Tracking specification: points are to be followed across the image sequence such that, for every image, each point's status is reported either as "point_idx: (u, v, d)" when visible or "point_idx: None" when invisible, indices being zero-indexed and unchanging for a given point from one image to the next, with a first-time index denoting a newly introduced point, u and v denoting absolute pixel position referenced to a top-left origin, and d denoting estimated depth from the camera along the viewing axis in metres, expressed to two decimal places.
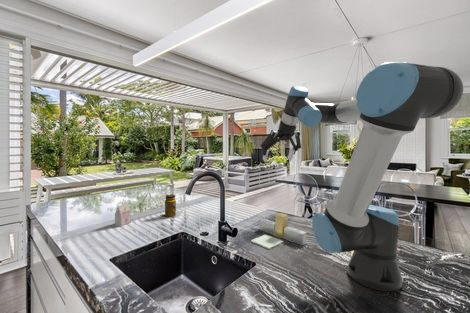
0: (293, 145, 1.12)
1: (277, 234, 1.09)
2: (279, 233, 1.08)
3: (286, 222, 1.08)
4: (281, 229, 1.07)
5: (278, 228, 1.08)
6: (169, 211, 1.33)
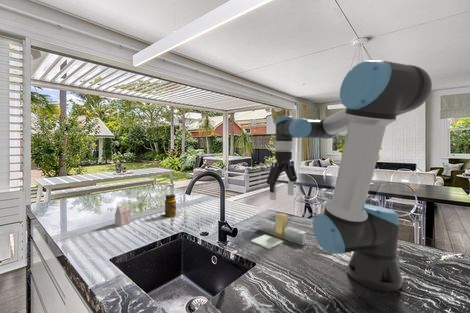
0: (291, 176, 1.11)
1: (277, 234, 1.09)
2: (279, 233, 1.08)
3: (286, 222, 1.08)
4: (281, 229, 1.07)
5: (278, 228, 1.08)
6: (169, 211, 1.33)
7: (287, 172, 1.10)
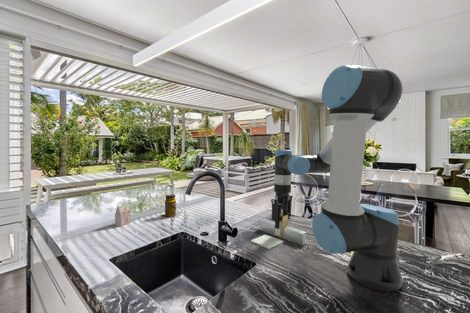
0: (286, 211, 1.10)
1: None
2: None
3: (286, 222, 1.08)
4: (281, 229, 1.07)
5: None
6: (169, 211, 1.33)
7: (283, 206, 1.10)
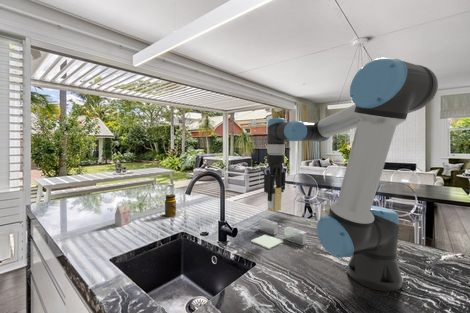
0: (280, 184, 1.05)
1: None
2: None
3: (279, 195, 1.04)
4: (274, 202, 1.02)
5: None
6: (169, 211, 1.33)
7: (277, 178, 1.05)
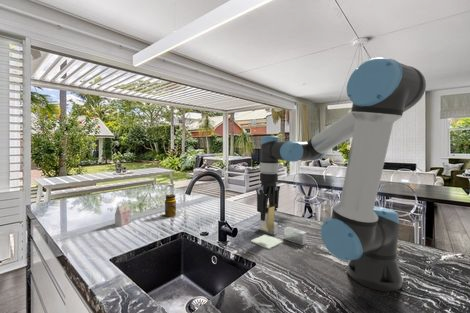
0: (273, 203, 1.02)
1: None
2: None
3: (272, 214, 1.01)
4: (267, 221, 1.00)
5: None
6: (169, 211, 1.33)
7: (270, 197, 1.03)
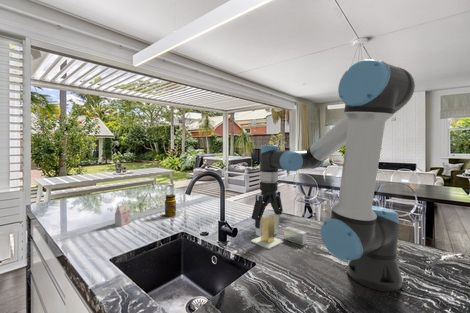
0: (277, 208, 1.04)
1: (263, 239, 1.02)
2: (265, 238, 1.01)
3: (272, 226, 1.01)
4: (267, 233, 1.00)
5: (264, 232, 1.01)
6: (169, 211, 1.33)
7: (272, 204, 1.04)
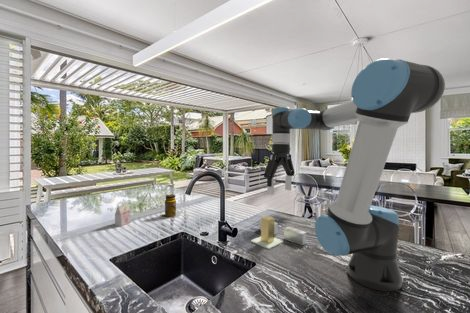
0: (289, 170, 1.07)
1: (263, 239, 1.02)
2: (265, 238, 1.01)
3: (272, 226, 1.01)
4: (267, 233, 1.00)
5: (264, 232, 1.01)
6: (169, 211, 1.33)
7: (284, 166, 1.07)
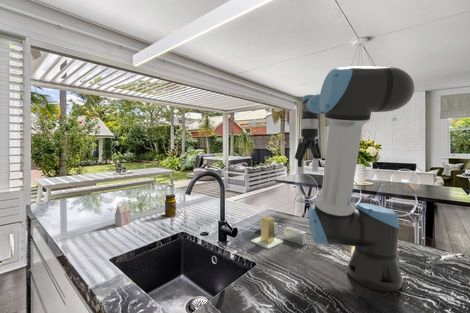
0: (316, 153, 1.17)
1: (263, 239, 1.02)
2: (265, 238, 1.01)
3: (272, 226, 1.01)
4: (267, 233, 1.00)
5: (264, 232, 1.01)
6: (169, 211, 1.33)
7: (312, 149, 1.17)
